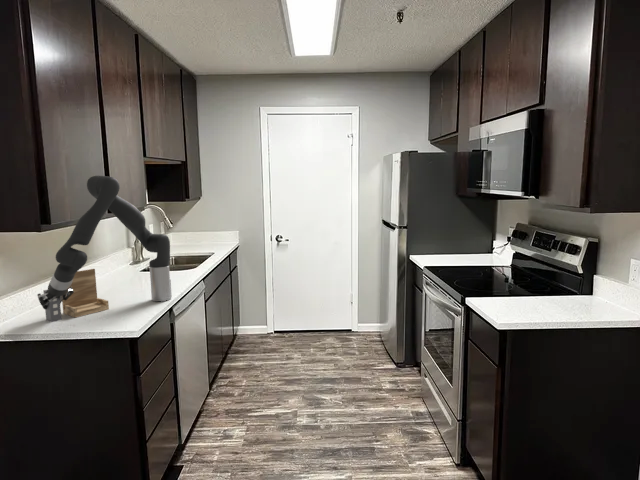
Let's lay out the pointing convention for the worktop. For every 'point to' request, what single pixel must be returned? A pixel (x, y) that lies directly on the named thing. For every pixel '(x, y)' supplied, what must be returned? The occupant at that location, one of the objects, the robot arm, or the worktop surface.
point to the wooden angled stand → (84, 295)
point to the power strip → (53, 310)
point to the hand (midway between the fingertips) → (50, 306)
